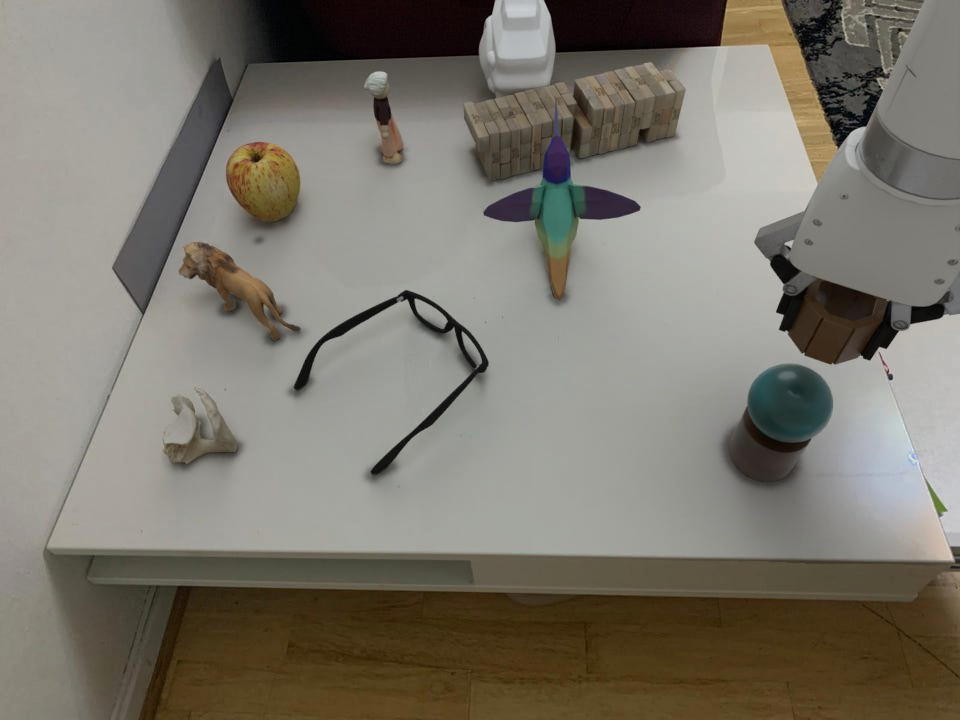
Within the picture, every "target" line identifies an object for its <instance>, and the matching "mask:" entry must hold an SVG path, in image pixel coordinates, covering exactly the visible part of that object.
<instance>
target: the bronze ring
mask: <svg viewBox="0 0 960 720" xmlns="http://www.w3.org/2000/svg"><path fill="white" fill-rule="evenodd" d="M803 298H804V299H803V302H802V304H801V306H800V308H799V310H798V312H797V315H796V317H795V319H794V321H793V323H792V325H791V327H790V329H789V331H786V332H787V335H788V337H789V338H790V340H791V341H792V342H793V344H794V345H795V347H796V348H797V349H798V351H799V352H800V354H804V357H807V358H810V359H812V360H816V361H819V362H821V363H825V364H827V365H830V366H831V365H833V366H836V365H839V364H843V363H846V362H849V361H852V360H857V359H858V358H859V357H861V353H862V352H863V350H864V348H865V347H866V345H867V344H868V342H869V341H870V339H871V338H872V336H873V335H874V333H875V331H876V330H877V328H878V327H879V325H880V324H881V323H882V322H883V319H884V315H885V312H886V308H887V304H888V302H889V300H887V299H884V298H881V297H877V296H874V295H871V294H868V293H864V292H861V291H858V290H855V289H852V288H848V287H845V286H842V285H839V284H836V283H833V282H830V281H827V280H824V279H820V278H818V279H816V280H815V281H814V282H813V283H811V284H810V285H809V286H808V287H807V289H806V292H805V295H804V297H803Z"/></svg>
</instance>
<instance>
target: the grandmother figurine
mask: <svg viewBox="0 0 960 720" xmlns="http://www.w3.org/2000/svg"><path fill="white" fill-rule="evenodd" d="M388 77H389V76H388V74H387V73H386V72H385V71H374V72H372V73H370V74H369V76H368V77H367V78H366V80H365V82H364V85H363V88H364V90H366V91H369V93H370V94H371V95H372V96H373V104H372V105H373V106H372V108H373V115H374V119H375V122H376V126H377V129H378V131H379V133H380V138H381V147H380V153H382V154H383V158H382V162H383V163H384V164H392V165H397V164H400V163H402V161H403V156H402V155H401V153H399V151H400V150H402V149H403V147H404V142H403V138H402V134H401V132H400V129H399V127H398V125H397V122H396V119H395V117H394V115H393V114H392V111H391V109H392V108H391V106H390V102H389V97H388V96H389V95H390V92H391V91H390V90H391V88H390V84H389V83H388Z"/></svg>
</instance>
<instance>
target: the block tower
mask: <svg viewBox="0 0 960 720" xmlns="http://www.w3.org/2000/svg"><path fill="white" fill-rule="evenodd" d="M686 90H687V89H686V88H685V86H684V85H683V84H682V82H681V80H679V79H677V77H676V76H675V74H674V73H673V71H672V70H671V69H664V70H660V71H659V70H658V68H657V67H656V66H655V64H653V62H651V61H648V62H645V63H642V64H638V65H632V66H631V65H630V66H625V67H623V68H618V69H615V70H611V71H610V70H609V71H605V72H604V73H598V74H595V75H589V76H588V75H587V76H585V77H583V78H575V79H574V84H573V93H571V92H570V89H569V88H568V87H567V85H566V83H565V82H564V81H560V82H556V83H554V84H550V86H546V87H541V88H536V89H530V90H526V91H524V92H519V93H515V94H514V95H508V96H505V97H500V98H496V97H495V98H494V99H486V100H484V101H482V102H476V103H474V102H473V101H468V102H465V103H463V119H464V122H465V124H466V126H467V129H468V131H469V133H470V135H471V137H472V140H473V141H474V145H475V146H474V147H475V153H476V154H477V156H478V159H479V160H480V162H481V164H482V167H483V169H484V170H485V173H486V175H487V178H488V179H489V181H495V180H498V179H500V180H503V179H507V178H508V179H509V178H510V177H514V176H518V175H520V174H525V173H529V172H530V171H531V172H532V171H536V170H539V169H543V164H544V156H545V153H546V151H547V149H548V147H549V145H550V143H551V141H552V139H553V137H554V117H555V98H556V102H557V111H558V124H559V136H560V138H561V139H562V141H563V143H564V145H565V147H566V149H567V151H568V153H569V157H570V158H571V149H573V150H574V152H575V154H576V156H577V158H578V159H584V158H588V157H592V156H596V155H598V154H600V155H601V154H605V153H608V152H613V151H617V150H623V149H626V148H628V147H633V146H636V145H637V143H638V140H639V134H640V136H641V137H642V139H643V140H644V141H645V142H646V143H651V142H655V141H656V140H660V139H664V138H673V137H675V136H676V133H677V132H676V131H677V127H678V123H679V119H680V115H681V111H682V108H683V103H684V99H685V94H686Z"/></svg>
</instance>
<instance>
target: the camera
mask: <svg viewBox="0 0 960 720" xmlns="http://www.w3.org/2000/svg"><path fill="white" fill-rule="evenodd" d="M554 34H555V33H554V28H553V23H552V17H551V13H550V11H549V9H548V7H547V4H546V2H545V0H494V5H493V9H492V14H491V15H489V16H488V17H487V18H486V19H485V21H484V25H483V33H482V35H481V39H480V41H479V46H478V58H479V64H480V68H481V71H482V72H483V74H484V79H485V81H486V82H487V87H488V90H490V91H491V92H492V93H493V94H495V98H500V97H505V96H508V95H514V94H515V93H519V92H524V91H526V90H530V89H536V88H541V87H546V86H550V85H551V82H552V78H553V73H554V72H553V71H554V66H555V58H556V40H555V35H554Z"/></svg>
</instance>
